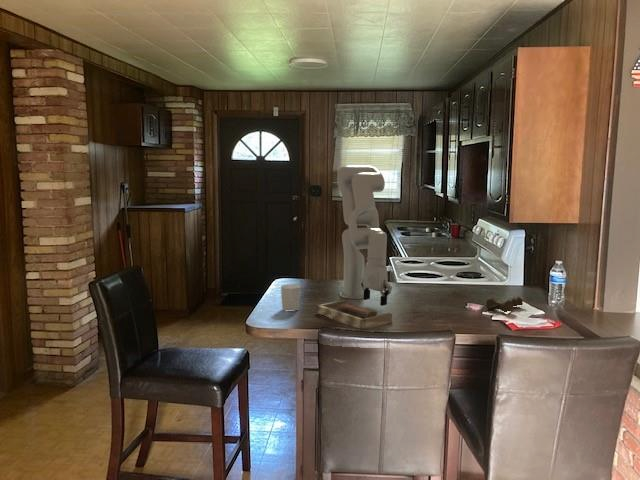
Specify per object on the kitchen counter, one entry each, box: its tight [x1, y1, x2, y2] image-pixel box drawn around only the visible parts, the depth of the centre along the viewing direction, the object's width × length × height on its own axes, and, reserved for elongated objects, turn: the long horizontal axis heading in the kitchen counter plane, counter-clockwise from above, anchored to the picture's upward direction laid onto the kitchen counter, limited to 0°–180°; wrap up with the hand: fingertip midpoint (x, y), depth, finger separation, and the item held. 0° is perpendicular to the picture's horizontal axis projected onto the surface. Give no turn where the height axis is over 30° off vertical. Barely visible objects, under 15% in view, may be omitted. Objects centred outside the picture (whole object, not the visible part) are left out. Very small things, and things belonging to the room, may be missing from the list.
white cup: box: [280, 283, 301, 310], centre depth 217 cm, size 8×8×10 cm
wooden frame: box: [315, 299, 393, 331], centre depth 206 cm, size 27×16×4 cm, turn 40°
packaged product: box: [337, 302, 378, 319], centre depth 206 cm, size 18×5×10 cm
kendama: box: [485, 295, 524, 312], centre depth 220 cm, size 6×10×20 cm
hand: (374, 302), depth 215 cm, fingers open, 9 cm apart
